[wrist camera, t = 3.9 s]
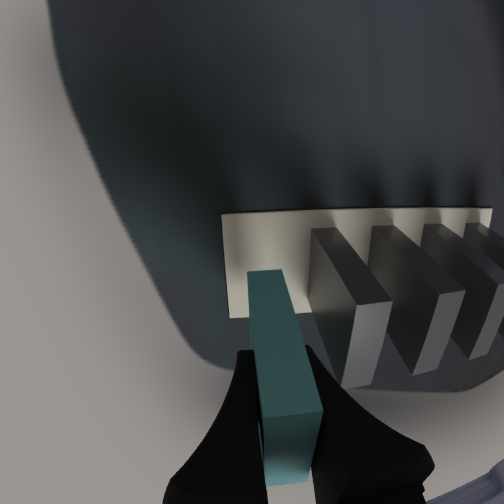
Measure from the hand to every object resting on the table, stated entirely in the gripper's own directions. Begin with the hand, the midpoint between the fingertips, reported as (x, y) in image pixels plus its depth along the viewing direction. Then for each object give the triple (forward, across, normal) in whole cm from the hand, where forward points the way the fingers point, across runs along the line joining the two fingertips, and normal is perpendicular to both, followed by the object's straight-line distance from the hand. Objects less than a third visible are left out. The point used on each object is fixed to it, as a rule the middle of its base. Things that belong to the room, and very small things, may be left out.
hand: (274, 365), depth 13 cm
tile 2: (+8, -4, 0) cm, 9 cm away
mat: (+8, -8, 0) cm, 12 cm away
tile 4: (+8, -12, 0) cm, 15 cm away
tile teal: (+4, 0, 0) cm, 4 cm away
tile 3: (+8, -8, 0) cm, 11 cm away
